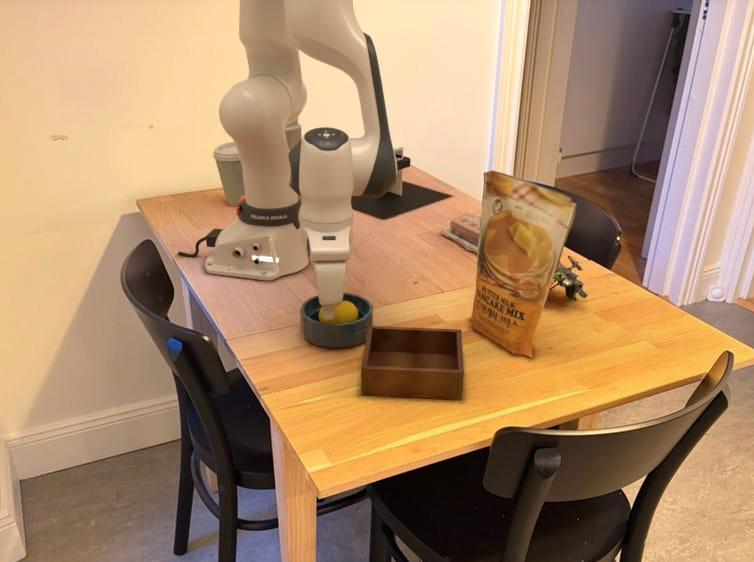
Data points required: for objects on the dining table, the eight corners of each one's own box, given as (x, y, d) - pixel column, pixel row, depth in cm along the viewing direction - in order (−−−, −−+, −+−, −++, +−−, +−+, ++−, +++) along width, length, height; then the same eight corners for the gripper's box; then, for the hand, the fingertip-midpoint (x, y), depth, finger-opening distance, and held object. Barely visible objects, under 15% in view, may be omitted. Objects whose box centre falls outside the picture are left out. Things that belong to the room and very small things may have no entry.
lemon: (321, 335, 126) (319, 307, 124) (317, 326, 130) (316, 299, 129) (361, 331, 127) (360, 303, 125) (356, 323, 131) (355, 296, 130)
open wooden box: (361, 395, 111) (361, 367, 109) (368, 351, 123) (368, 325, 120) (461, 400, 110) (463, 372, 107) (459, 355, 122) (461, 329, 119)
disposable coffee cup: (255, 209, 186) (250, 151, 178) (214, 209, 186) (208, 152, 178) (260, 196, 195) (256, 140, 187) (221, 196, 195) (215, 141, 187)
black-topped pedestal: (312, 194, 196) (310, 145, 189) (379, 174, 211) (380, 128, 204) (383, 219, 178) (384, 167, 171) (451, 196, 194) (455, 146, 187)
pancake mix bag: (484, 311, 135) (499, 165, 121) (556, 355, 121) (582, 195, 107) (456, 319, 133) (468, 171, 118) (526, 365, 118) (548, 203, 104)
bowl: (296, 348, 124) (295, 323, 121) (307, 314, 135) (306, 291, 132) (369, 352, 123) (369, 326, 120) (374, 317, 134) (375, 293, 131)
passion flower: (563, 323, 142) (604, 290, 133) (522, 326, 137) (561, 293, 128) (542, 276, 146) (579, 241, 137) (501, 277, 141) (537, 241, 132)
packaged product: (524, 232, 157) (488, 240, 153) (522, 252, 160) (486, 261, 156) (475, 208, 171) (440, 215, 167) (473, 227, 173) (439, 234, 169)
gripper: (304, 209, 127) (305, 280, 134) (310, 255, 110) (311, 333, 117) (339, 209, 127) (339, 279, 135) (351, 254, 110) (349, 332, 117)
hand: (326, 304), depth 126 cm, fingers open, 8 cm apart
